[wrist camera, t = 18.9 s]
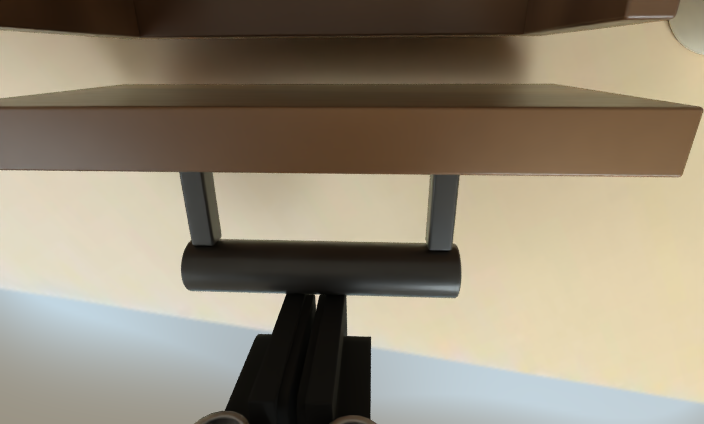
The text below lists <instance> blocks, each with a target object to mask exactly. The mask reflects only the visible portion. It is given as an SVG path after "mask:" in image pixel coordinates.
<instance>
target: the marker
mask: <svg viewBox="0 0 704 424" xmlns="http://www.w3.org/2000/svg"><path fill="white" fill-rule="evenodd" d="M669 24H670V27H671V30H672V32H673V34H674V35H675V37H676V38H677V40H678V41H679V42H680V43H681V44H682V45H683V46H685V47H686V48H687V49H689V50H691V51H693V52H695V53H698V54H702V55H704V0H680V3H679V7H678V11H677V14H676V16H675V17H674V18H673V19H670V20H669Z"/></svg>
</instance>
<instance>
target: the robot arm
mask: <svg viewBox="0 0 704 424" xmlns="http://www.w3.org/2000/svg"><path fill="white" fill-rule="evenodd" d="M370 391H371V337H357V336H347V305H346V295H320V296H319V300H318V304H317V309H316V303H315V295H314V294H286V297H285V299H284V302H283V305H282V308H281V310H280V313H279V316H278V319H277V321H276V324H275V327H274V330H273V332H272V334H258V335H257V336H256V338H255V340H254V342H253V345H252V347H251V349H250V352H249V354H248V356H247V359H246V361H245V364H244V366H243V369H242V371H241V373H240V376H239V378H238V380H237V383H236V385H235V388H234V390H233V393H232V395H231V397H230V400H229V402H228V404H227V407H226V409H225V411H219V412H215V413H211V414H209V415H207V416H205V417H203V418H201V419H200V420H198V421H197V422H196V423H195V424H376V423H375V422H373V421H372V420H370V401H371V399H370V398H371V392H370Z"/></svg>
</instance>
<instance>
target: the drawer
mask: <svg viewBox="0 0 704 424" xmlns="http://www.w3.org/2000/svg"><path fill="white" fill-rule="evenodd" d="M679 3H680V0H0V30H5V31H19V32H34V33H48V34H63V35H77V36H92V37H106V38H121V39H214V38H338V37H461V36H543V35H550V34H559V33H567V32H575V31H583V30H592V29H600V28H608V27H616V26H624V25H633V24H641V23H649V22H657V21H665V20H670V19H673V18H674V17H675V16H676V14H677V11H678V7H679ZM702 113H703V108H701V107H698V106H691V105H685V104H679V103H672V102H666V101H659V100H653V99H647V98H640V97H634V96H627V95H621V94H615V93H608V92H602V91H595V90H589V89H583V88H576V87H570V86H563V85H557V84H124V85H115V86H106V87H97V88H89V89H80V90H71V91H62V92H53V93H45V94H36V95H27V96H18V97H9V98H0V170H44V171H139V172H179V173H180V179H181V184H182V190H183V196H184V201H185V207H186V212H187V218H188V224H189V229H190V235H191V241H190V242H189V243H188V244H187V246H186V248H185V250H184V253H183V257H182V263H181V275H182V280H183V283H184V285H185V287H186V288H187V289H188V290H190V291H211V292H248V293H285V294H322V295H359V296H395V297H432V298H456V297H457V296H458V294H459V291H460V286H461V260H460V254H459V250H458V247H457V245H456V244H453V234H454V225H455V215H456V205H457V196H458V186H459V176H460V175H517V176H612V177H681V176H682V174H683V171H684V168H685V165H686V162H687V159H688V156H689V153H690V150H691V147H692V144H693V141H694V138H695V135H696V132H697V129H698V126H699V122H700V119H701V116H702ZM212 172H233V173H328V174H422V175H430V185H429V199H428V212H427V226H426V239H425V240H426V243H390V242H340V241H289V240H239V239H220V238H221V228H220V222H219V215H218V208H217V201H216V194H215V187H214V180H213V173H212Z"/></svg>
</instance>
